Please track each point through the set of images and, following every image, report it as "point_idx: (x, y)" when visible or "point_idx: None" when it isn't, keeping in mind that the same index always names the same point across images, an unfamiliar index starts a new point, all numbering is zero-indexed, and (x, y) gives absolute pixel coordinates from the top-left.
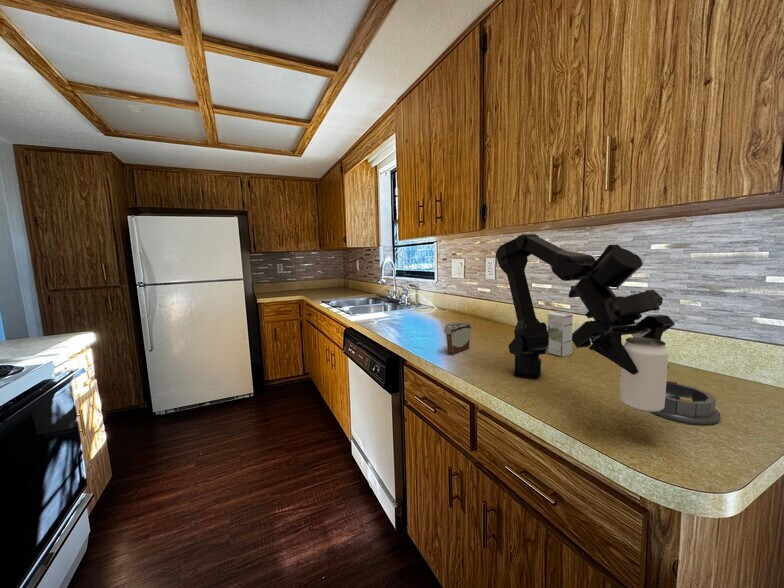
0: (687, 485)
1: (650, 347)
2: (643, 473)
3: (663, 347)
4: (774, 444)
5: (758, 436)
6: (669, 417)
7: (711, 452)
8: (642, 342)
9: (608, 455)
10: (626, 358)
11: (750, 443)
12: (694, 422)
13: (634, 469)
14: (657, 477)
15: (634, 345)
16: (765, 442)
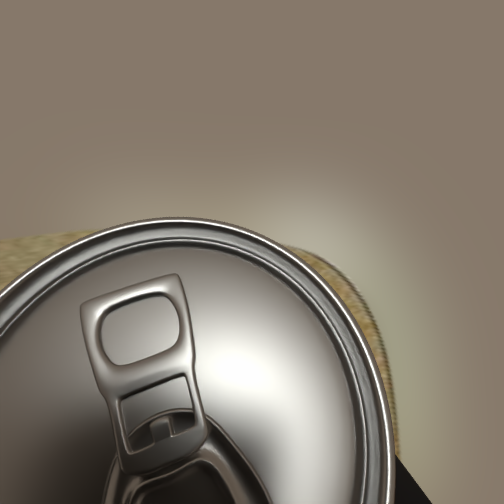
0: (340, 287)
1: (314, 294)
2: (382, 347)
3: (194, 235)
4: (30, 239)
5: (5, 262)
6: None
7: None
8: (181, 436)
9: (394, 431)
10: (414, 483)
11: None
12: None
13: (387, 364)
14: (368, 326)
15: (373, 459)
16: (31, 249)
